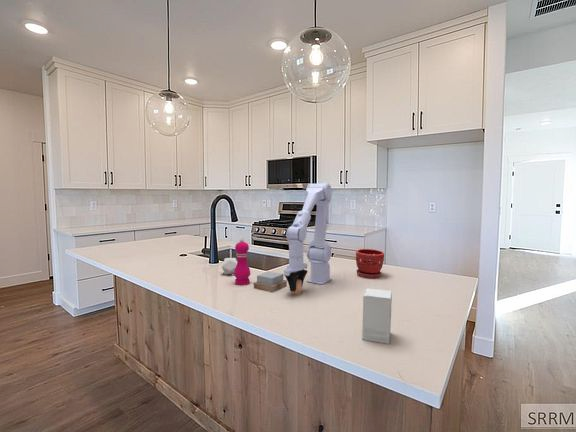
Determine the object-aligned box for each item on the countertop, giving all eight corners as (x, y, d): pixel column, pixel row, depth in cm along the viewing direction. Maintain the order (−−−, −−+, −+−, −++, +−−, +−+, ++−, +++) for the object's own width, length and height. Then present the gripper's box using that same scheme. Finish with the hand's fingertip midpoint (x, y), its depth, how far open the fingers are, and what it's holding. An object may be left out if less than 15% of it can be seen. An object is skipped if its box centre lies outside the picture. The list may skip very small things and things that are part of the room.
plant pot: (355, 278, 146) (355, 253, 145) (355, 271, 159) (356, 248, 158) (384, 280, 143) (385, 254, 142) (382, 273, 156) (383, 249, 155)
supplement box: (389, 344, 84) (390, 298, 83) (361, 339, 87) (362, 295, 86) (391, 332, 91) (392, 290, 90) (365, 328, 94) (366, 287, 93)
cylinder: (294, 290, 129) (294, 278, 129) (303, 292, 127) (303, 280, 126) (288, 293, 126) (288, 281, 125) (297, 295, 123) (297, 282, 123)
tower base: (268, 283, 140) (268, 277, 140) (286, 287, 135) (286, 280, 135) (253, 289, 132) (253, 282, 132) (272, 293, 127) (272, 286, 126)
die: (233, 278, 149) (243, 260, 152) (217, 269, 148) (227, 252, 152) (232, 280, 156) (242, 263, 160) (217, 271, 156) (227, 254, 159)
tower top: (268, 277, 139) (268, 271, 138) (283, 280, 134) (283, 274, 134) (257, 282, 132) (257, 275, 132) (272, 285, 128) (272, 278, 127)
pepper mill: (247, 285, 135) (246, 240, 133) (231, 284, 137) (230, 239, 135) (252, 281, 142) (252, 237, 141) (237, 280, 144) (237, 236, 142)
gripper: (297, 251, 133) (297, 283, 134) (277, 258, 121) (277, 292, 122) (311, 253, 129) (311, 285, 130) (292, 260, 117) (292, 295, 118)
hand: (296, 289), depth 126 cm, fingers closed on cylinder, 4 cm apart
